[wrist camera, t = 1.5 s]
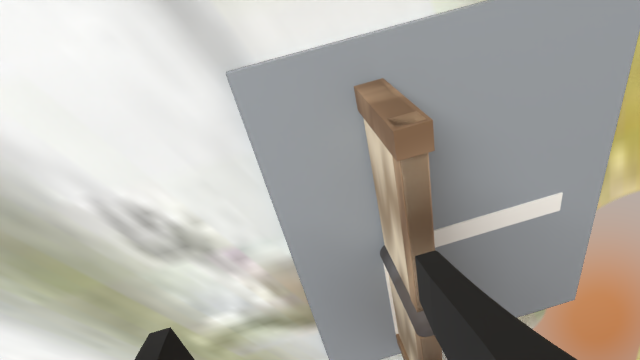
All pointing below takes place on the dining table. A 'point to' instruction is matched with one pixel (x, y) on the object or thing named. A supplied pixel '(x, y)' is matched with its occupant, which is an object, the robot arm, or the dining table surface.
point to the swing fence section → (400, 174)
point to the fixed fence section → (410, 320)
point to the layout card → (446, 153)
